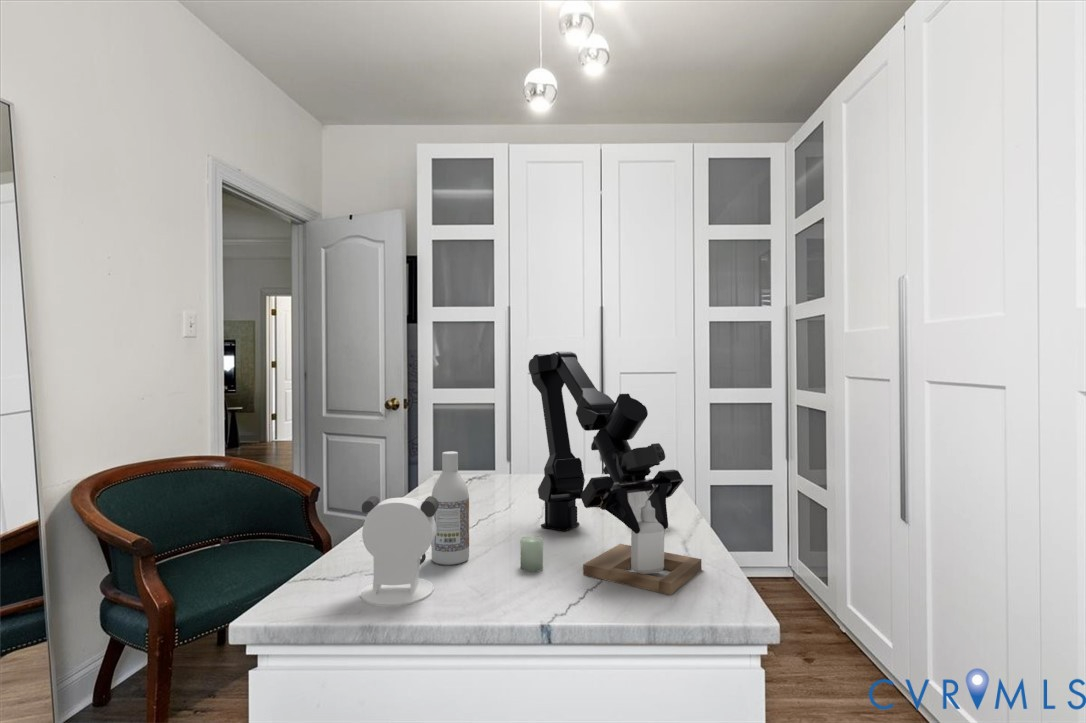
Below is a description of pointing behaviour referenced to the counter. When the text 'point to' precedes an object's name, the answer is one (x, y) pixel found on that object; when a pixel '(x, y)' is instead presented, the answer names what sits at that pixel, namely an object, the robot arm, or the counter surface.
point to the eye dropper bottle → (648, 543)
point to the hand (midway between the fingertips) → (652, 530)
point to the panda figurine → (398, 549)
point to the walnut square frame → (619, 560)
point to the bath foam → (451, 514)
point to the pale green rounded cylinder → (531, 554)
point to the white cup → (638, 502)
